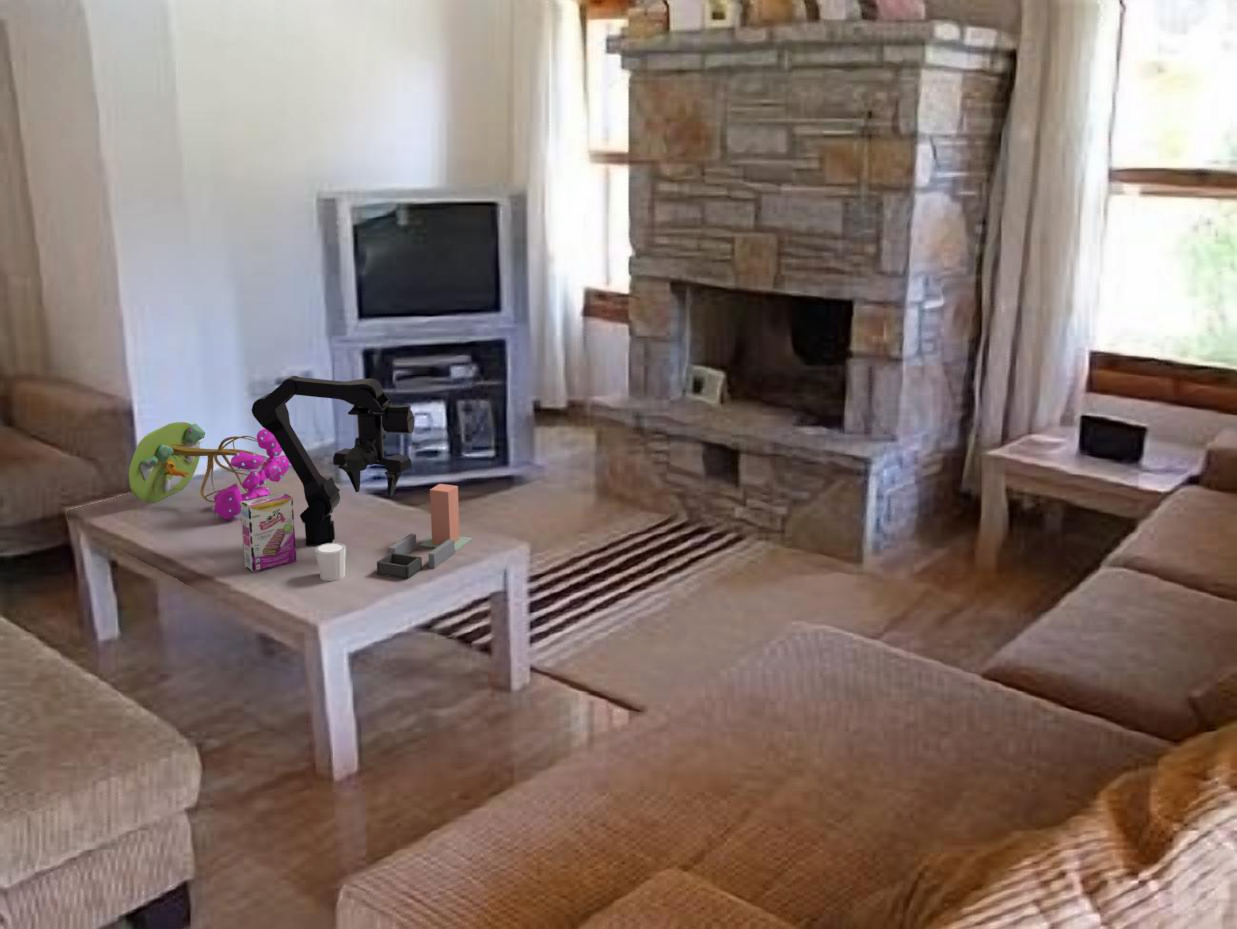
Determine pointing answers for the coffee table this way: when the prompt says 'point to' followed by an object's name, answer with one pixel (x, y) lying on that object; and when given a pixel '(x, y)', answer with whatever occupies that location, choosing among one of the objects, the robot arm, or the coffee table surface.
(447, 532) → the salmon-pink block
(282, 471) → the lily pad toy
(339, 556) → the white cup
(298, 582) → the coffee table surface
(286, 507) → the candy bar box
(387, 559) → the dark grey open box
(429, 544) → the sage mat
